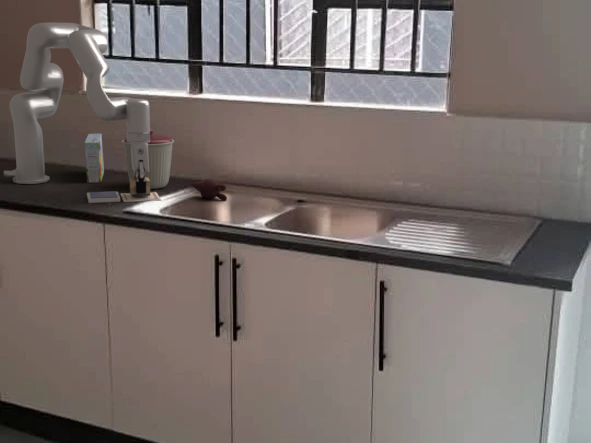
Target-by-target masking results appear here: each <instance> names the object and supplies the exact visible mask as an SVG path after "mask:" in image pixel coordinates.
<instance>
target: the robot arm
mask: <svg viewBox="0 0 591 443" xmlns="http://www.w3.org/2000/svg"><path fill="white" fill-rule="evenodd" d="M25 46H26V49H25V54H24V58H23V61H22V67H21V71H20V76H19V84H20V86H21V88H22V89H24V90H25V91H26V92H20V93H17V94H15V95H14V96H12V98H11V100H10V102H9V111H10V115H11V119H12V124H13V132H14V133H13V134H14V144H15V145H14V148H15V161H16V168H15V169H12V170H3V176H4V177H13V178H12V183H15V184H19V185H37V184H43V183H47V182H50V176H49V175H46V173H45V171H46V170H45V154H44V137H43V135H44V134H43V129H42V127H41V125H40V123H39V122H38V119H44V118H50V117H52V116H53V115H55V113H56V112H57V110H58V108H59V107H58V106H59V102H60V100H61V95H62V91H63V86H64V81H65V80H64V79H65V78H64V72H63V70H62V68H61V67H60V66H59V65H57V64H56V63H55V62H54V63H53V62H51V61H52V60H51V59H52V52H51V49H69V51H70V52H71V54H72V56H73V57H74V59H75V60H76V62H77V64H78V66H79V67H80V69H81V71H82V73H83V74H84V76H85V78H86V83H85V92H86V98H87V100H88V103H89V104H90V106H91V108H92V110H93V111H94V113H95V114H96V116H97V117H98V118H99V119H100V120H101V121H103V122H108V123H109V122H115V121H116V122H118V121H124V120H126V122H125V123H126V137H127V142H129V143H131V161H132V169H133V170H134V178H135V173H136V177H137V181H136V193H137V194H139V193H146V181H145V171H147V173H148V172H149V155H148V144H147V143H148V142H150V128H151V119H150V118H151V116H150V111H151V110H150V102H149V101H148V100H147V99H144V98H133V97H129V96H115V97H109V96H108V95H107V93H106V91H105V90H104V88H103V85H102V79H103V78H104V77H105V76H106V75H107V74H109V71H110V64H109V63H108V61H107V60H106V58H105V56H104V53H106V52H107V50H108V48H109V43H108V39H107V36H106V35H105V34H104V32H102V31H101V30H100V29H97V28H93V27H91V26H86V25H82V24H79V23H75V22H38V23H36V24H34V25H32V26H31V27H30V28H29V30H28V32H27V37H26V45H25ZM27 91H28V92H27ZM138 174H139V175H138ZM138 177H139V178H138Z"/></svg>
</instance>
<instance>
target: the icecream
mask: <svg viewBox="0 0 591 443" xmlns="http://www.w3.org/2000/svg"><path fill="white" fill-rule="evenodd" d="M190 186H192V188H194V189H196V191H198V192H199V193H200V196H201V197H202V198H203V199H208V200H209V199H210V200H213V199H215V198H216V197H217V198H218V199H219V200H221V201H227V200H228V197H227V195H226V194H224V193H221V192H224V191H226V189H227V187H226V185H225V184H221V183H220V184H219V183H218V182H217V181H215V180H213V179H212V178H206V179H205V180H203V181H197V182H192V183H190Z"/></svg>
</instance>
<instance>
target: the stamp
mask: <svg viewBox="0 0 591 443" xmlns="http://www.w3.org/2000/svg"><path fill="white" fill-rule="evenodd" d="M138 175H139V174H138ZM138 178H139V177H138ZM136 181H137V177H136V173H135V178H130V181H129V193H130V194H131V196H150V192H151V189H150V180H149V179H148V177H146V178H145V181H146V193H139V194H137V193H136Z"/></svg>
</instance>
